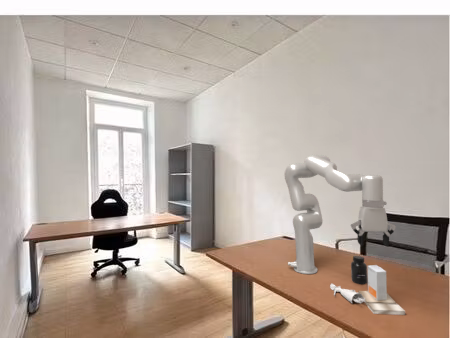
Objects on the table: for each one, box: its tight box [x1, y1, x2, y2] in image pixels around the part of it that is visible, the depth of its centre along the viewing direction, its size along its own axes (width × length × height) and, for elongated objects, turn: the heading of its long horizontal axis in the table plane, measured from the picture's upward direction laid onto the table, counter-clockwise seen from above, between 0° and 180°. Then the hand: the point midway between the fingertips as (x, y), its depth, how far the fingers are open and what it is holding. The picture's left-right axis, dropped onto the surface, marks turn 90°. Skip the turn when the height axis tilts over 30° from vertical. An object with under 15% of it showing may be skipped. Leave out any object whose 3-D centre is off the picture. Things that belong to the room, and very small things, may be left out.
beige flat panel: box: [357, 290, 397, 306], centre depth 101 cm, size 11×8×2 cm
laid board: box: [367, 303, 406, 316], centre depth 93 cm, size 11×5×2 cm, turn 82°
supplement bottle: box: [350, 255, 368, 286], centre depth 119 cm, size 7×7×12 cm
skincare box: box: [367, 264, 388, 301], centre depth 101 cm, size 6×4×12 cm
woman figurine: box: [329, 283, 366, 305], centre depth 105 cm, size 12×4×18 cm
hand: (373, 244), depth 102 cm, fingers open, 9 cm apart
